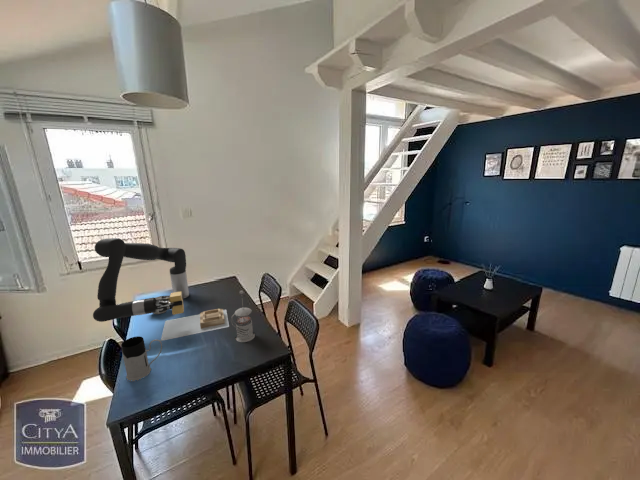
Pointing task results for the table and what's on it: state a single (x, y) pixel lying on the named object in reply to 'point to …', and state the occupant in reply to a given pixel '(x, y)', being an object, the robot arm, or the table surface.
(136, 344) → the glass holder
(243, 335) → the french press
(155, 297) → the teacup
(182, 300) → the ochre pillar
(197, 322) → the white rectangular board
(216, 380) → the table surface
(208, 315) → the beech base slab
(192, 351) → the table surface
